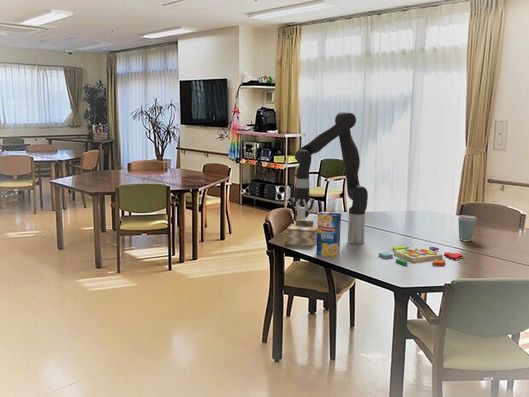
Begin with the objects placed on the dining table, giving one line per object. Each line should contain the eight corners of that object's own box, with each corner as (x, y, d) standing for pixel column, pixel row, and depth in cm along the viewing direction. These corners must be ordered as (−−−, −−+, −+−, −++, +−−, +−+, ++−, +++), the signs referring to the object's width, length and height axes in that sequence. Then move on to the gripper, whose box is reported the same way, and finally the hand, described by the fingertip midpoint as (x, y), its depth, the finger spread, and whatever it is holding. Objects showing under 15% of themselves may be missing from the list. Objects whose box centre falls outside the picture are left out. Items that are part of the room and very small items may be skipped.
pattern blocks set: (423, 272, 237) (423, 266, 236) (369, 255, 263) (370, 250, 263) (468, 259, 259) (468, 253, 259) (414, 245, 286) (415, 239, 285)
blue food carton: (319, 251, 268) (321, 211, 264) (339, 254, 264) (341, 213, 260) (316, 254, 262) (317, 214, 258) (336, 257, 258) (338, 215, 254)
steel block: (306, 217, 276) (306, 207, 275) (305, 219, 272) (305, 208, 271) (298, 217, 277) (298, 206, 276) (297, 219, 273) (297, 208, 272)
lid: (318, 227, 288) (318, 220, 287) (314, 231, 277) (314, 225, 276) (291, 225, 292) (291, 218, 292) (286, 229, 281) (286, 223, 280)
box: (318, 241, 289) (318, 227, 288) (314, 246, 278) (314, 232, 277) (291, 238, 294) (291, 225, 292) (286, 243, 282) (286, 230, 281)
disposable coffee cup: (457, 237, 303) (459, 213, 301) (476, 239, 298) (478, 215, 295) (454, 241, 294) (456, 216, 292) (473, 243, 289) (476, 218, 286)
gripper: (288, 186, 270) (287, 217, 273) (314, 188, 266) (313, 219, 269) (291, 184, 277) (290, 214, 280) (316, 186, 273) (316, 216, 276)
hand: (302, 216), depth 274 cm, fingers closed on steel block, 4 cm apart
